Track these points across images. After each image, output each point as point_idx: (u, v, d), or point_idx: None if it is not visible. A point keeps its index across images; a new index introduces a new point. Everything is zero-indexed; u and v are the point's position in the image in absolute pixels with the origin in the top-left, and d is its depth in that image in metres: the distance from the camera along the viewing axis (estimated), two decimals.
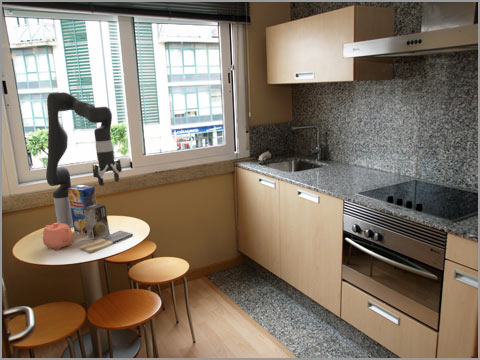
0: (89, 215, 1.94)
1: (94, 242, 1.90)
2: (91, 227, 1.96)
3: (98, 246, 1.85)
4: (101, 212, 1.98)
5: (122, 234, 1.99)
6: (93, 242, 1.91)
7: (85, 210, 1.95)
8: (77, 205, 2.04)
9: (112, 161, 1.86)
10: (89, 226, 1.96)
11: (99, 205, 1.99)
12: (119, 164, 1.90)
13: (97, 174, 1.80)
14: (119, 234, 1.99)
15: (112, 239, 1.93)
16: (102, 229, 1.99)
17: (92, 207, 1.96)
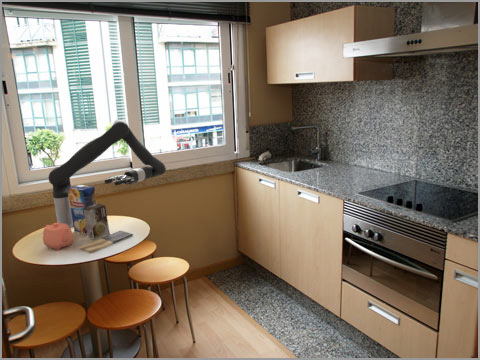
0: (89, 215, 1.94)
1: (94, 242, 1.90)
2: (91, 227, 1.96)
3: (98, 246, 1.85)
4: (101, 212, 1.98)
5: (122, 234, 1.99)
6: (93, 242, 1.91)
7: (85, 210, 1.95)
8: (77, 205, 2.04)
9: None
10: (89, 226, 1.96)
11: (99, 205, 1.99)
12: None
13: None
14: (119, 234, 1.99)
15: (112, 239, 1.93)
16: (102, 229, 1.99)
17: (92, 207, 1.96)
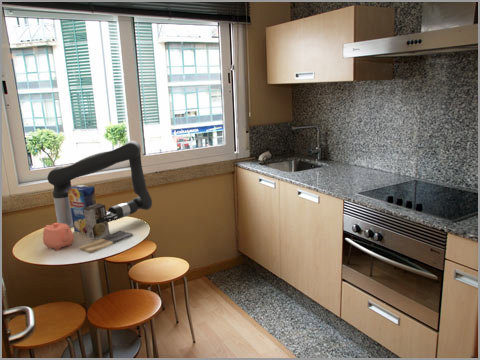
0: (88, 215, 1.94)
1: (94, 242, 1.90)
2: (91, 227, 1.96)
3: (98, 246, 1.85)
4: (101, 212, 1.98)
5: (122, 234, 1.99)
6: (93, 242, 1.91)
7: (85, 210, 1.95)
8: (77, 205, 2.04)
9: None
10: (89, 226, 1.96)
11: (99, 205, 1.99)
12: None
13: None
14: (119, 234, 1.99)
15: (112, 239, 1.93)
16: (102, 229, 1.99)
17: (92, 207, 1.96)
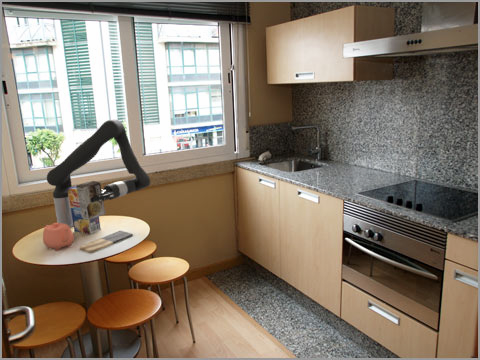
0: (82, 193, 1.79)
1: (94, 242, 1.90)
2: (85, 206, 1.80)
3: (98, 246, 1.85)
4: (96, 190, 1.83)
5: (122, 234, 1.99)
6: (93, 242, 1.91)
7: (78, 187, 1.80)
8: (77, 205, 2.04)
9: None
10: (83, 205, 1.81)
11: (94, 182, 1.84)
12: None
13: None
14: (119, 234, 1.99)
15: (112, 239, 1.93)
16: (97, 208, 1.84)
17: (86, 184, 1.81)
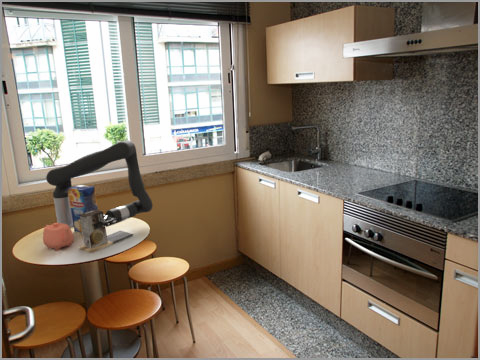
0: (85, 223, 1.81)
1: None
2: (88, 235, 1.82)
3: (98, 246, 1.85)
4: (98, 219, 1.84)
5: (122, 234, 1.99)
6: None
7: (81, 217, 1.82)
8: (77, 205, 2.04)
9: None
10: (86, 234, 1.83)
11: (96, 211, 1.86)
12: None
13: None
14: (119, 234, 1.99)
15: (112, 239, 1.93)
16: (100, 237, 1.86)
17: (89, 213, 1.83)
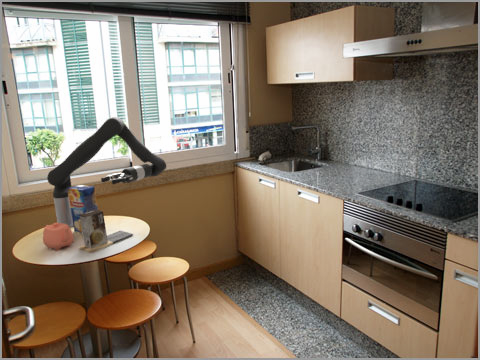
0: (85, 223, 1.81)
1: None
2: (88, 235, 1.82)
3: (98, 246, 1.85)
4: (98, 219, 1.84)
5: (122, 234, 1.99)
6: None
7: (81, 217, 1.82)
8: (77, 205, 2.04)
9: None
10: (86, 234, 1.83)
11: (96, 211, 1.86)
12: (113, 178, 2.00)
13: None
14: (119, 234, 1.99)
15: (112, 239, 1.93)
16: (100, 237, 1.86)
17: (89, 213, 1.83)
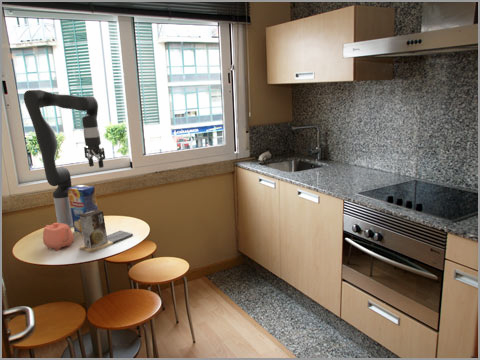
0: (85, 223, 1.81)
1: None
2: (88, 235, 1.82)
3: (98, 246, 1.85)
4: (98, 219, 1.84)
5: (122, 234, 1.99)
6: None
7: (81, 217, 1.82)
8: (77, 205, 2.04)
9: None
10: (86, 234, 1.83)
11: (96, 211, 1.86)
12: None
13: None
14: (119, 234, 1.99)
15: (112, 239, 1.93)
16: (100, 237, 1.86)
17: (89, 213, 1.83)
